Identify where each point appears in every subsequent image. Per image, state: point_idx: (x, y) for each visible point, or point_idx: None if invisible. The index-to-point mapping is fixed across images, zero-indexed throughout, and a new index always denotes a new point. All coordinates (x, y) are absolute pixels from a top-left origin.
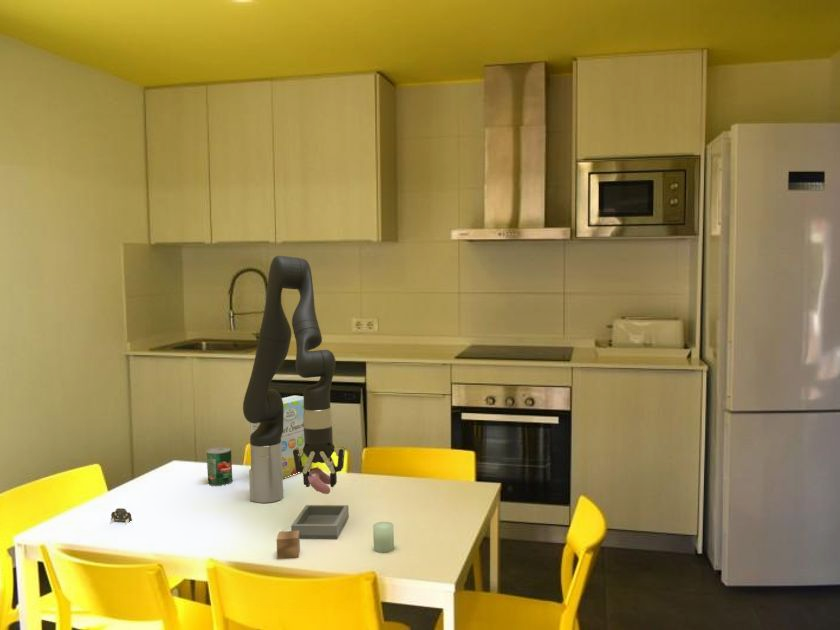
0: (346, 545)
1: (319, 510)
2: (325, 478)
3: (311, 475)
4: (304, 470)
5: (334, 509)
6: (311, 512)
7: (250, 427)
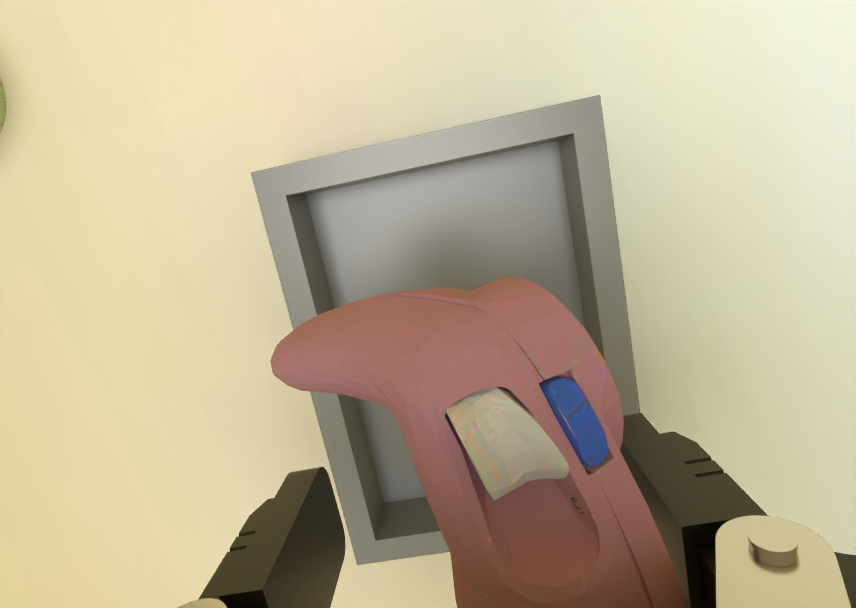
0: (182, 91)
1: None
2: None
3: (547, 407)
4: (795, 564)
5: None
6: None
7: None
